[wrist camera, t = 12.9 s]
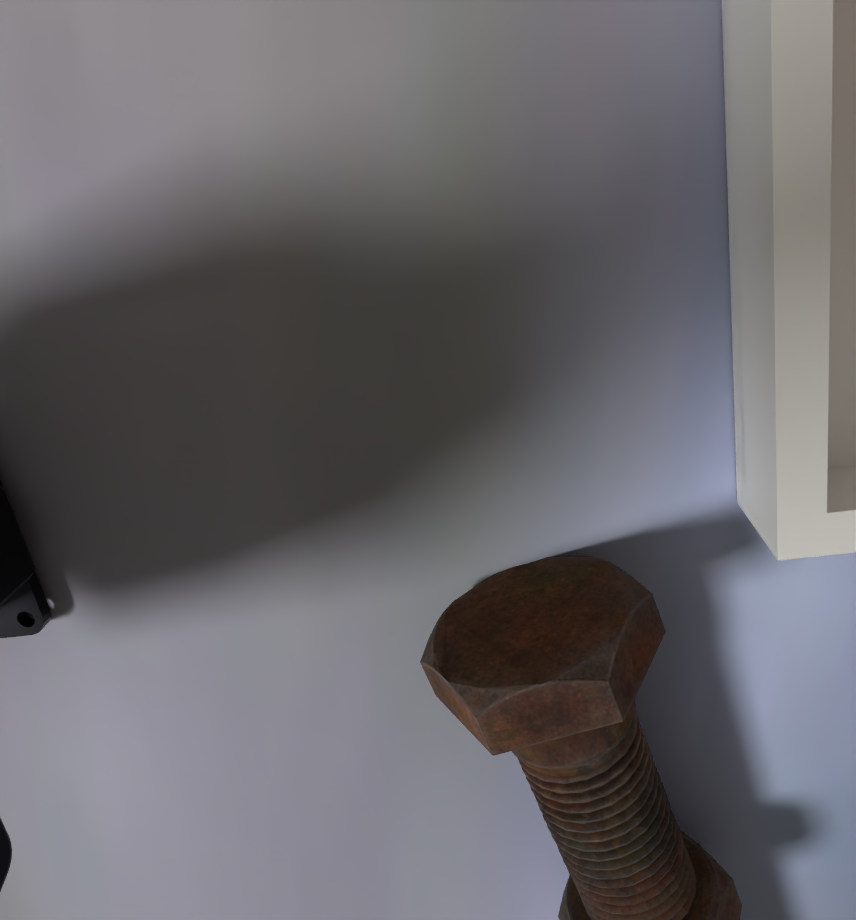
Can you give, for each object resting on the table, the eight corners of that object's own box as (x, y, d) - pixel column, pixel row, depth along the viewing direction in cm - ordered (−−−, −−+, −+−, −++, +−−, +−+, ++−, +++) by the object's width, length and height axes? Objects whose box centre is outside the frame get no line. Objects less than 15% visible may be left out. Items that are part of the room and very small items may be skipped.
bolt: (641, 902, 28) (494, 545, 22) (796, 946, 24) (667, 543, 19) (578, 1076, 24) (380, 690, 18) (753, 1157, 20) (575, 718, 15)
